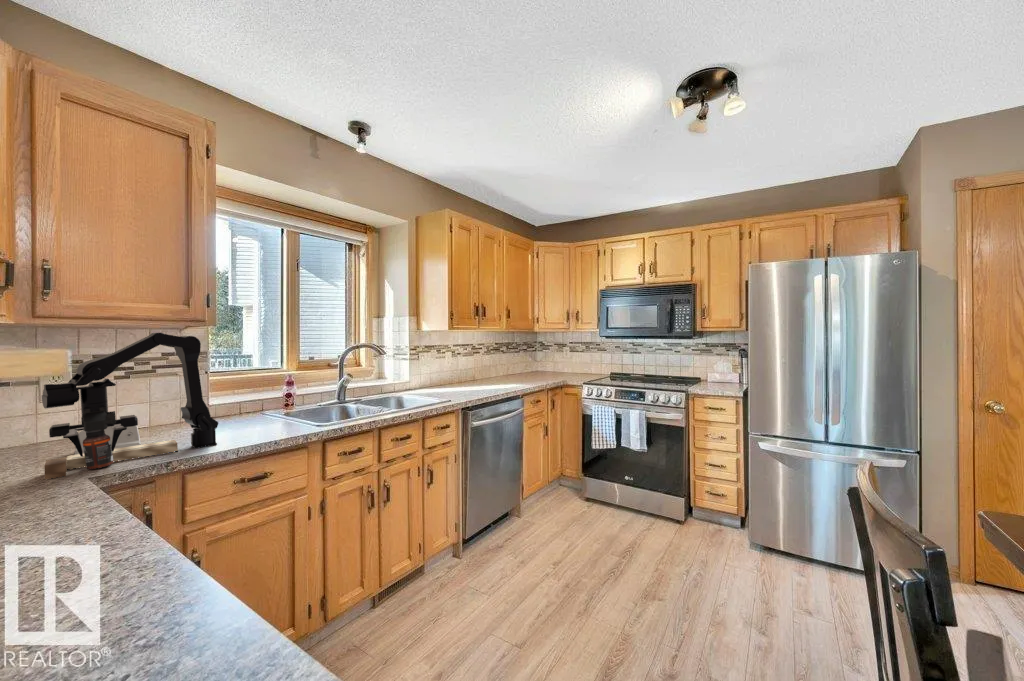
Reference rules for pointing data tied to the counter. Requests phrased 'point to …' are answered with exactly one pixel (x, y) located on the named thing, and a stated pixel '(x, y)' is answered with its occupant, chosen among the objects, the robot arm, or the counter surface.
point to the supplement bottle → (97, 449)
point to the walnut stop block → (55, 468)
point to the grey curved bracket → (124, 440)
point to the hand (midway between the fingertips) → (97, 453)
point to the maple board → (128, 453)
